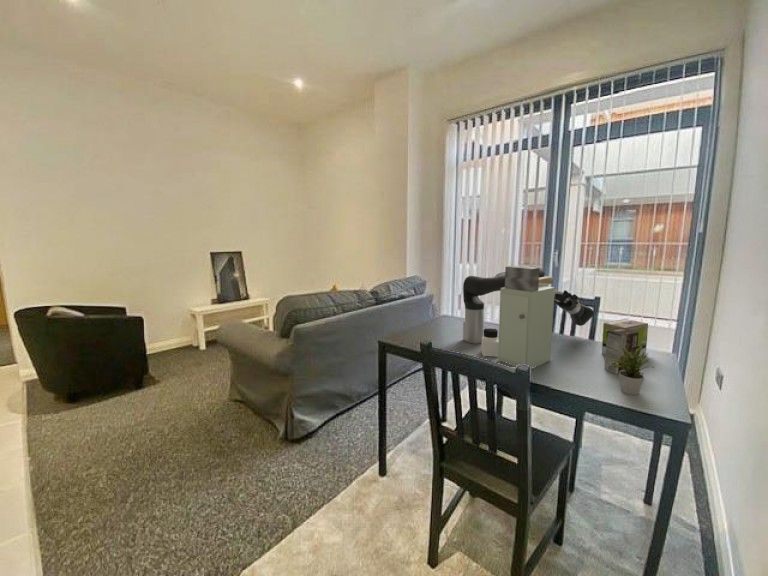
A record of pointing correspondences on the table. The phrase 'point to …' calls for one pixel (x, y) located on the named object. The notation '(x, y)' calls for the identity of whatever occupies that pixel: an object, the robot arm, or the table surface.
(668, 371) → the table surface
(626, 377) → the house plant
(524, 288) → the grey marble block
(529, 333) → the cabinet
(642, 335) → the tea box
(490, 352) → the medicine bottle
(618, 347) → the coffee box
